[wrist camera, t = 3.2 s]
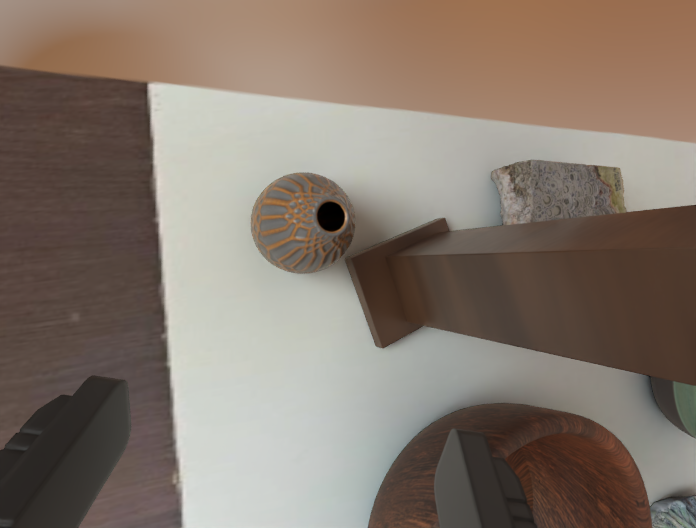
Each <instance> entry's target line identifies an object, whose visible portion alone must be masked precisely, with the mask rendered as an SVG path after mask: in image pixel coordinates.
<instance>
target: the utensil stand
mask: <svg viewBox="0 0 696 528" xmlns="http://www.w3.org/2000/svg"><path fill="white" fill-rule="evenodd" d="M345 261H346V264H347V266H348V269H349V272H350V275H351V278H352V280H353V283H354V286H355V289H356V292H357V294H358V297H359V300H360V303H361V306H362V308H363V311H364V314H365V317H366V320H367V322H368V325H369V328H370V331H371V334H372V336H373V339H374V342H375V345H376V346H377V347H380V348H384V347H386V346H388V345H390V344H392V343H394V342H395V341H397V340H399V339H401V338H403V337H405V336H406V335H408V334H410V333H412V332H414V331H415V330H417V329H419V328H421V327H423V326H427V327H432V328H436V329H441V330H445V331H450V332H454V333H459V334H463V335H468V336H472V337H477V338H481V339H486V340H490V341H495V342H499V343H504V344H508V345H513V346H517V347H522V348H526V349H531V350H535V351H540V352H544V353H549V354H553V355H558V356H562V357H567V358H571V359H576V360H580V361H585V362H589V363H594V364H598V365H603V366H607V367H612V368H616V369H621V370H625V371H630V372H634V373H639V374H643V375H648V376H652V377H657V378H661V379H666V380H670V381H675V382H679V383H684V384H688V385H693V386H696V205H691V206H681V207H672V208H662V209H653V210H643V211H634V212H625V213H615V214H606V215H596V216H587V217H578V218H568V219H559V220H549V221H540V222H531V223H521V224H512V225H502V226H493V227H483V228H474V229H465V230H455V231H449V229H448V226H447V222H446V219H445V218H439V219H435V220H433V221H431V222H428V223H426V224H424V225H421V226H419V227H417V228H414V229H412V230H410V231H407V232H405V233H403V234H400V235H398V236H396V237H393V238H391V239H389V240H386V241H384V242H382V243H379V244H377V245H375V246H372V247H370V248H368V249H365V250H363V251H361V252H358V253H356V254H354V255H351V256H349V257H347V258H345Z"/></svg>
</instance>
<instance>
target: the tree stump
mask: <svg viewBox="0 0 696 528" xmlns="http://www.w3.org/2000/svg"><path fill="white" fill-rule="evenodd" d="M650 512H651V519H652V528H696V495H693V496H688V497H671V498H668V499H665V500H661V501H657V502H654V504H653V505H652V506H651V507H650Z"/></svg>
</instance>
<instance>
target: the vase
mask: <svg viewBox="0 0 696 528" xmlns="http://www.w3.org/2000/svg"><path fill="white" fill-rule="evenodd" d="M251 231H252V236H253V239H254V242H255V244H256V246H257V248H258V250H259V251H260V253H261V254H262V255H263V256H264V257H265V258H266V259H267V260H268V261H269V262H270V263H271V264H273V265H274V266H276V267H278V268H280V269H283V270H285V271H289V272H293V273H313V272H317V271H320V270H323V269H325V268H327V267H329V266H331V265H332V264H334V263H335V262H336V261H337V260H339V259H340V258H341V257H342V255H343V254H344V253H345V252H346V250H347V249H348V247H349V245H350V243H351V241H352V238H353V235H354V231H355V215H354V210H353V207H352V204H351V202H350V200H349V198H348V196H347V195H346V193H345V192H344V191H343V190H342V189H341V188H340V187H339V186H338V185H337V184H336V183H334V182H333V181H331V180H330V179H328V178H326V177H323V176H320V175H317V174H313V173H294V174H289V175H286V176H283V177H281V178H279V179H277V180H275V181H274V182H273V183H271V184H270V185H269V186H268V187H266V188H265V189H264V191H263V192H262V193H261V194H260V196H259V197H258V199H257V200H256V202H255V205H254V207H253V211H252V216H251Z"/></svg>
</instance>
